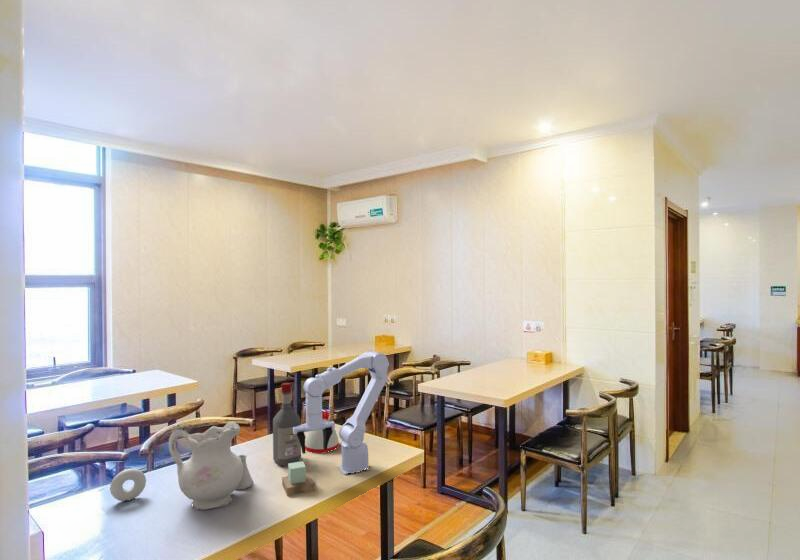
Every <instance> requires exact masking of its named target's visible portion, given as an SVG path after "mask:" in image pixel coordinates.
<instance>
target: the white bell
mask: <svg viewBox="0 0 800 560" xmlns="http://www.w3.org/2000/svg"><path fill="white" fill-rule="evenodd" d="M330 413H331V412H328V410H326V409H325V410H322V422H330V421H329V417H330ZM335 428H336V427H335ZM335 428H332V430H333V433H332V435H331V437H330V439H329V442H328V446H327V450H324V448H323V429H322V430H315V431H309V432H306V435H305V436H306V437H305V452H307V453H308V452H309V453H311V452H312V454H323V453H322V452H326V453H329V452H328V451H331V450H333V451H335V450H334V449H335V448H337V447H338V448H339V446H338V445H339V437H338V433H337V431H336V429H335ZM338 448H337V449H338ZM331 452H332V451H331Z"/></svg>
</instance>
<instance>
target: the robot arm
mask: <svg viewBox="0 0 800 560" xmlns="http://www.w3.org/2000/svg"><path fill="white" fill-rule="evenodd" d="M389 366H390V362H389V360H388V357H387V355H386V354H384V353H381V352H376V351H374V350H372V349H371V350H367V351H366V352H364V353H361V354H360V355H358V356H356V357H355V358H354V359H352V360H350V361H349V362H347V363H345V364H344V365H341V366H340V367H338V368H337V367H328V368H327V369H326V371H324V372H322V373H320V374H316V375H315V377H309V378H307V379H306V380H305V381H304V384H303V385H302V388H303V391H304V392H305V423H304V424H301V426H297V427H293V433H294V434H296V435H297V437H298V439H299V442H300V444H301V454H302V455H305V454H306V450H305V440H306V436H307V435H305V433H308V432H309V431H315V430H322V429H323V448H324V450H327V446H328V442H329V439H330V437H331V435H332V433H333V430H332V428H336V427H335V425H336V424H335V422H334V421H329V422H322V411H323V398H322V397H323V394H324V392H325V391H326V390H328V389H330V388H331V387H333V386H335V385H336V384H339V383H340V382H341V380H342V378H343V377H344V376H347V375H349V374H351V373H354V372H355V371H357V370H359V369H362V368H363V369H368V372H369V374H370V377H371V378H370V381H369V383H368V385H367V387H366V388H365V391H364V393H363V395H362V396H361V399H360V400H359V402H358V404H357V405H356V408H355V410H354V412H353V413H352V416H351V417H348V418H347V419H346V421H345V423H344V424H343V425H341V426H340V428H339V430H338V431H339V432H338V436H339V438H340V440H341V441H342V442H341V464H338V466H337V467H338V469H339V470H340V471H341V472H342V474H343V475H345V474H346V475H349V474H348V473H351V474H354V473H353V472H356V473H359V472H358V471H361V472H363V471H362V470H364V469H365V468H366V469H367V468H369V449H368V445H367V443H365V442H364V438H365V433H366V431H367V428H366V422H367V420H368V418H369V416H370V414H371V412H372V410H373V409H374V407H375V404H376V403H377V400H378V399H379V396H380V394H381V393H382V390H383V389H384V386H385V384H386V382H387V379H388V369H389ZM366 469H365V470H366ZM366 471H367V470H366Z"/></svg>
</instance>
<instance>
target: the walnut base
mask: <svg viewBox="0 0 800 560" xmlns="http://www.w3.org/2000/svg"><path fill="white" fill-rule="evenodd" d="M281 482H282V483H281V485H282V487H283V490H284V493H285V494H286V496H287V497H289V496H294V495H299V494H303V493H308V492H313V491H314V492H315V491H316V490H315V489H316V488H315V486H316V485H315V481H314V479H313V478H312V476H311V475H310V473H309V472H306V482H301V483H295V484H290V481H289V479H288V476H283V477H281Z"/></svg>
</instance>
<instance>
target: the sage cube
mask: <svg viewBox="0 0 800 560" xmlns="http://www.w3.org/2000/svg"><path fill="white" fill-rule="evenodd" d="M306 470H307V469H306V465H305V462H304V461H303V460H302V461H301V460H300V461H299V462H295V463H289V464H288V466H287V472H288V473H287V475H288V479H289V481H290V484H295V483H301V482H306V473H307V471H306Z"/></svg>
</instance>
